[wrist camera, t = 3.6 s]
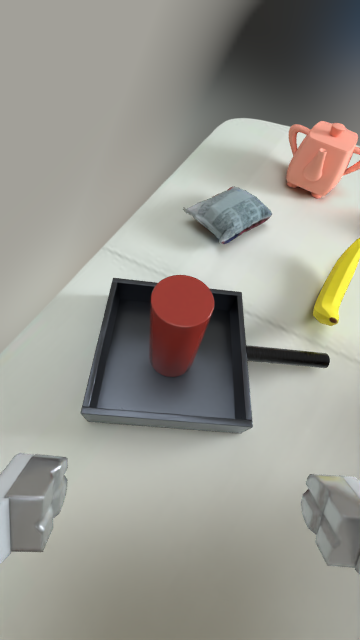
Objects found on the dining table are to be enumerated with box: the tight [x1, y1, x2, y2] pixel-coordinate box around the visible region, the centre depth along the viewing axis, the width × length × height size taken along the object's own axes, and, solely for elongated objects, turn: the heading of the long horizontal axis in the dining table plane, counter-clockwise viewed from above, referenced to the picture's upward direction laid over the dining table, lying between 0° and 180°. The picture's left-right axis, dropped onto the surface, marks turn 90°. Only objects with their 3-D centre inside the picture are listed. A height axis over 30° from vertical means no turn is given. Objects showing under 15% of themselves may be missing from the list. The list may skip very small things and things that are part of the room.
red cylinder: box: [149, 275, 214, 377], centre depth 26 cm, size 5×5×11 cm
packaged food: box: [183, 187, 272, 244], centre depth 41 cm, size 9×12×5 cm
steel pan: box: [81, 278, 330, 433], centre depth 29 cm, size 24×15×4 cm, turn 87°
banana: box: [313, 238, 360, 326], centre depth 35 cm, size 3×19×6 cm, turn 146°
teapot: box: [286, 121, 360, 198], centre depth 48 cm, size 14×12×10 cm
